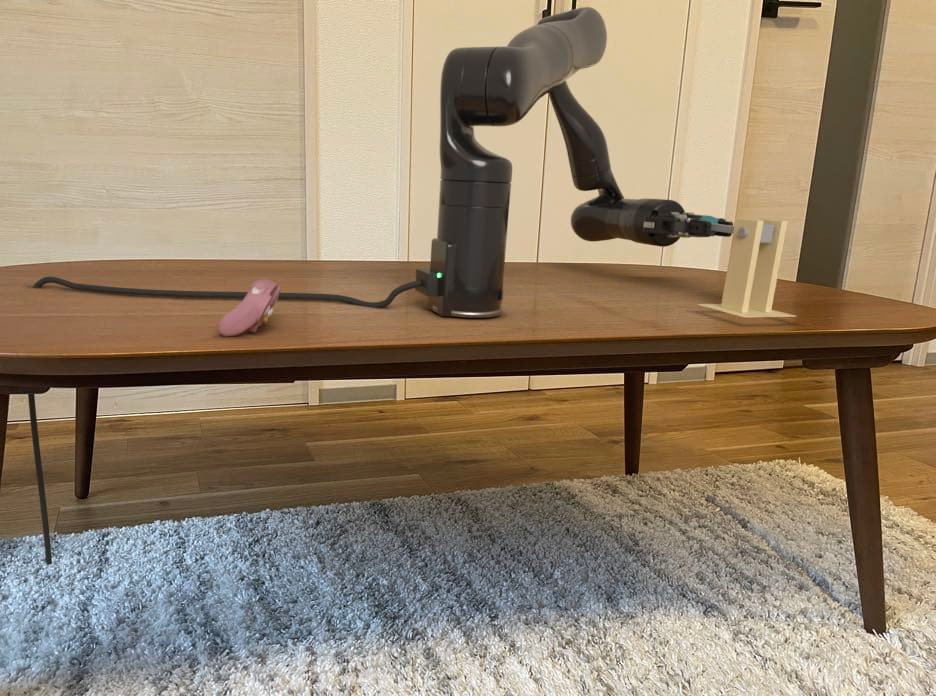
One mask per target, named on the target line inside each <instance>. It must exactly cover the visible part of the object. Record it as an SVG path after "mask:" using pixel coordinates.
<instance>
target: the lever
mask: <svg viewBox="0 0 936 696" xmlns="http://www.w3.org/2000/svg"><path fill="white" fill-rule="evenodd" d="M716 218H717V217H715V216H713V215H707V216H704V217H702V218H700V219H699V220H700V221H710V222H711V232H710V235H709V236H708V237H707V238H710V237H714V236H713V235H714V234H715V233H716V232H725V233H732V234H733V232H734V226H735V225H733V226H731V225H722V224H718V221H717V220H716ZM773 230H774V225H770V224H763V228H762V234H761V239H760V243H771V241H772V236H773ZM701 238H704V237H703V236H702V237H701Z"/></svg>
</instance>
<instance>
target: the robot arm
mask: <svg viewBox="0 0 936 696" xmlns="http://www.w3.org/2000/svg"><path fill="white" fill-rule="evenodd" d="M607 41H608V32H607V26H606V22H605V20H604V18H603V16H602V15H601V13H600V12H599V11H598V10H597V9H595V8H594V7H591V6H584V7H583V6H582V7H577V8H574V9H571V10H567V11H563V12H560V13H556V14H552V15H548V16H546V17H543V18H541V19H540V20H538V22H537V23H536V25H532V26H530V27H528V28H526V29H524V30H522V31H520V32H518V33H517V34H516V35H515V36H514V37H513V38H512V39H510V40H509V42H508V44H507V45H506V46H468V47H457V48H454V49H451V51H449V52H448V54H447V55H446V57H445V60H444V62H443V66H442V70H441V76H440V84H439V85H440V89H439V90H440V91H439V162H440V163H439V164H440V180H439V197H438V198H439V199H438V214H437V232H436V237H435V238H434V237H433V238H432V240H431V245H430V246H431V248H430V264H429V268H416V269H415V280H414V281H411V282H410V281H409V282H408V283H404V284H402V285H399V286H397V287H396V288H395V289H393V290H392V291H391V292H390V293H389V294H388V296H387V297H386V299H384V300H381V301H376V302H375V301H374V302H373V301H365V300H361V299H358V298H354V297H350V296H347V295H342V294H330V293H312V292H311V293H310V292H309V293H307V292H280V293H279V296H278V299H277V300H313V301H316V300H317V301H334V302H342V303H347V304H351V305H354V306H360V307H366V308H375V309H382V308H385V307H388V306H390V305H391V304H392V302H394V300H395V298H396V297H397V296H398V295H400V294H402V293H403V292H404V293H405V292H406V291H409V290H412V289H414V290H415V291H416V292H418V293H420V294H422V295H424V296H426V297H428V300H427V301H428V302H427V309H428V310H430V311H432V312H434V313H436V314H437V315H439V316H441V317H452V318H453V317H454V318H461V319H463V318H464V319H465V318H466V319H489V318H496V317H498V316H501V315H502V303H503V301H504V293H503V291H504V276H505V265H506V264H505V262H506V253H507V252H506V250H507V240H508V239H507V237H508V226H509V213H510V205H511V204H510V203H511V191H512V190H511V189H512V178H513V164H512V162H511V160H510V159H508V158H506V157H504V156H502V155H499V154H497V153H494V152H493V151H490V150H489V149H488V148H486V147H485V146H484V145H482V144H481V143H480V142H479V141H478V140H477V138H476V135H475V127H497V128H499V127H501V128H502V127H508V126H513V125H516V124H518V123H519V122H520V121H522V120H523V119H524V118H526V116H527V115H528V113H529V112H530V111H531V110H532V109H533V107H535V106H536V104H537V102H539V100H540V99H542V98H543V97H544V96H545V95H547V96H548V97H549V100H550V103H551V106H552V108H553V111H554V115H555V118H556V120H557V122H558V126H559V128H560V131H561V134H562V138H563V141H564V145H565V150H566V155H567V159H568V165H569V169H570V174H571V179H572V183H573V186H574V188H575V189H576V190H578V191H581V192H590V191H595V190H596V191H598V192H597V193H598V195H597V196H595V197H593V198H591V199H589V200H586V201H585V202H582V203H579V205H577V206H575V208H574V209H573V211H572V212H571V215H570V227H571V229H572V232H573V233H574V234H575V235H576V236H577V237H578V238H580V239H582V240H583V241H585V242H602V241H611V240H614V239H621V240H627V241H631V242H634V243H636V244H642V245H648V246H654V247H655V246H656V247H661V248H665V247H669V246H672V245H674V244H675V243H677V242H678V241H679V240H680V239H681V238H683V239H684V238H709V237H708V236H709V235H710V232H711V222H710V221H700V220H699V219H700V218H702V217H704V216H708V215H707V214H696V213H694V212H690V211H686V210H685V209H684V208H683V206H682V205H681V204H680V203H679V202H677V200H676V201H675V200H672V199H664V198H663V199H662V198H647V197H645V198H625V196H624V195H623V193H622V191H621V188H620V187H619V185H618V182H617V180H616V178H615V176H614V175H615V174H614V173H613V171H612V166H611V160H610V159H611V158H610V154H609V148H608V143H607V139H606V137H605V134H604V132H603V130H602V127H600V125H599V123H597V121H596V120H595V119H594V118H593V117H592V116H591V114H590V113H589V112H588V111H587V110H586V109H585V108H584V107H583V106H582V105H581V103H580V102H579V101H578V100H577V98H576V97H575V96H574V94H573V92H572V90H571V89H570V87H569V84H568V82H567V80H568V79H570V78H571V77H573V76H574V75H575V74H576V73H578V72H579V71H581V70H584V69H588V68H591V67H595V66H596V65H597V64H598V63H600V62H601V60H602V59H603V57H604V55H605V52H606V48H607ZM715 218H716V220H717V221H718V224H722V225H731V226H734V223H733V221H728V220H727V219H725V218H722V217H719V218H718V217H715ZM702 236H703V237H702ZM715 236H717V237H724V238H729V237H732V236H733V233H725V232H716V233H715V234H714V235H713V236H712V237H715ZM46 284H56V285H59V286H63V287H66V288H69V289H72V290H77V291H86V292H87V291H88V292H98V293H105V294H106V293H107V294H116V295H117V294H118V295H119V294H120V295H132V296H149V297H174V298H205V299H207V298H210V299H212V298H213V299H215V298H216V299H244V298H245V296H246V295H247V293H248V291H214V290H213V291H211V290H210V291H207V290H205V291H203V290H174V289H173V290H172V289H171V290H170V289H150V288H149V289H147V288H132V287H129V288H128V287H116V286H106V285H98V284H97V285H95V284H87V283H75V282H73V281H69V280H67V279H63V278H60V277H55V276H44V277H42V278H40V279H39V280H37V281H36V282H35V283H34V284H33V286H32V289H41V287H43V286H44V285H46ZM27 398H28V409H29V422H30V429H31V430H30V431H31V438H32V448H33V456H34V464H35V473H36V478H37V479H36V482H37V488H38V489H37V490H38V497H39V504H40V515H41V524H42V532H43V542H44V555H45V564H46V565H47V566H51V565H52V564H53V559H52V558H53V557H52V556H53V555H52V546H51V536H50V535H51V533H50V526H49V516H48V506H47V505H48V504H47V497H46V490H45V480H44V473H43V472H44V471H43V465H42V455H41V447H40V446H41V445H40V440H39V439H40V438H39V428H38V419H37V418H38V417H37V409H36V397H35V393H34V394H28V393H27Z"/></svg>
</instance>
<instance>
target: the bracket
mask: <svg viewBox="0 0 936 696" xmlns="http://www.w3.org/2000/svg"><path fill="white" fill-rule="evenodd" d="M788 223H789V222H788V220H780V219H770V218H759V219H753V218H744V217H743V218H742V217H736V218H735V221H734V225H733V226H734V232H733V233H732V238H731V243H730V244H731V245H730V250H729V257H728V263H727V269H726V274H725V279H724V286H723V292H722V297H721V298H722V299H721V303H697V304H696V305H697V306H702V307H705V308H708V309H712V310H716V311H719V312H723V313H726V314H730V315H734V316H737V317H741V318H775V317H776V318H783V317H789V318H791V317H796V315H795V314H790V313H787V312H782V311H778V310H774V309H772V308H773V303H774V297H775V293H776V288H777V287H776V286H777V282H778V276H779V272H780V266H781V260H782V255H783V249H784V245H785V239H786V233H787V228H788ZM763 224H770V225H774V230H773V236H772V241H771V243H760V239H761V234H762V228H763Z"/></svg>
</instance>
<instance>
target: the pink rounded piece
mask: <svg viewBox="0 0 936 696" xmlns="http://www.w3.org/2000/svg"><path fill="white" fill-rule="evenodd" d="M281 291H282V288H281V286H279V284H278V283H276V282H274V281H272V280H270V279H263V278H262V279H257V280H255V281H252V282H251V284H250V285H249V287H248V290H247V292H248V293H247V295H246V296H245V298H242V300H241V301H240V302H239V303H238V304H237V305H236V306H235V307H234V308H232V309H231V310H229V311H228V312H227V313H225V314H224V316H222V318H221V319H220V321H219V322H218V326H217V331H218V332H219V334H220V335H221V336H223V337H233V336H238V335H240V334H243V333H244V332H246V331H247V330H248V331H249V332H251V333H253V334H255V333H256V332H257V330H258V328H261V327H262V325H263V324H266V323H267V322H268V320H269V317H271V316H272V315H273V312H274V308H273V307H275V305H276V303H277V301H278V300H279V299H278V296H279V293H281Z"/></svg>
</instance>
